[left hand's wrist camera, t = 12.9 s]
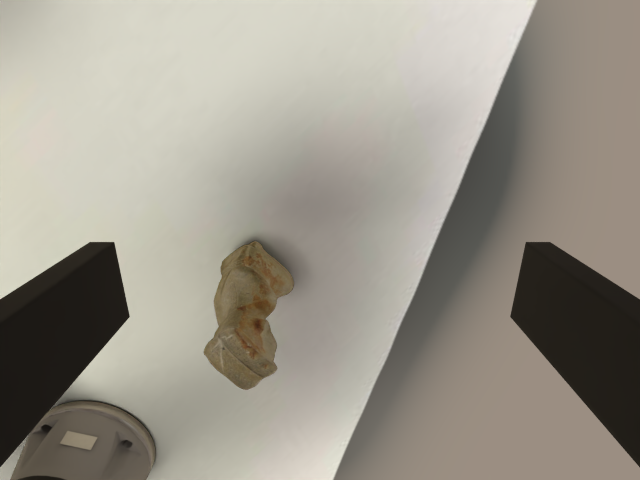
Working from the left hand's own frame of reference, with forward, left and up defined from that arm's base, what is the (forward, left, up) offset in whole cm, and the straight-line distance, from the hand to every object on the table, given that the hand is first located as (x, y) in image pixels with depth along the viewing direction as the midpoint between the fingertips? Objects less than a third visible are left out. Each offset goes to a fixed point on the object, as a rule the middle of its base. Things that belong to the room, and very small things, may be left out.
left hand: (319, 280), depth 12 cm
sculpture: (-13, +3, -26) cm, 29 cm away
